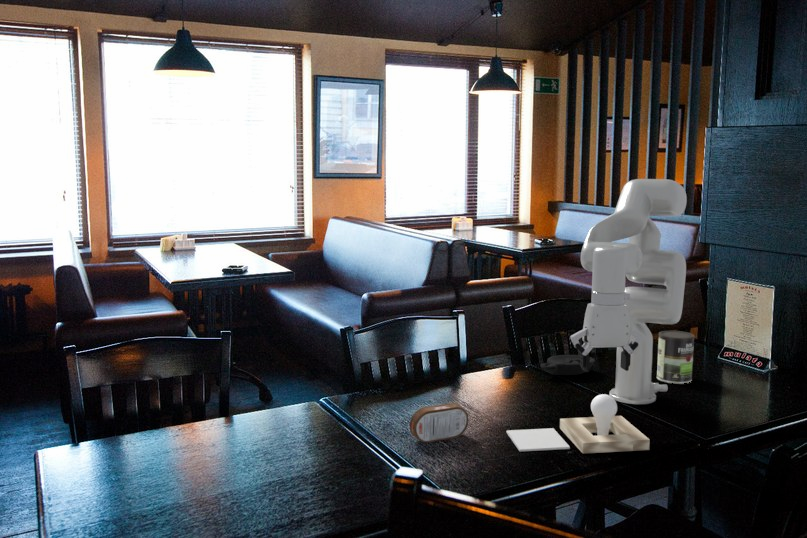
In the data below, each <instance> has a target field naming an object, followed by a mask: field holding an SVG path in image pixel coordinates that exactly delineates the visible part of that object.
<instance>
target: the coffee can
mask: <svg viewBox="0 0 807 538" xmlns="http://www.w3.org/2000/svg"><path fill="white" fill-rule="evenodd" d="M694 345H695V334H693V333H691V332H688V331H682V330H681V331H680V330H662V331H659V332H658V344H657V363H656V364H657V366H656V367H657V370H656V379H657V380H658V381H660V382H664V383H668V384H672V383H673V384H674V385H685V384H684V383H687V384H690V383H692V382H691V381H693V366H694V365H693V364H694V349H695V348H694V347H695V346H694ZM689 382H690V383H689Z"/></svg>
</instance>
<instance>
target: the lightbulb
mask: <svg viewBox="0 0 807 538" xmlns="http://www.w3.org/2000/svg"><path fill="white" fill-rule="evenodd" d="M590 410H591V412H592V415H593V417H595V419H596V426H597V433H596V434H597V436H598V435H609V433H610V432H609V429H610V424H611V421H612V419H613V417H614V416H616V414H617V412H618V403H617V401H616V400H614V399H613V398H612V397H611V396H610V395H609V394H606V393H604V394H603V393H602V394H601V393H600V394H598V395H596V396H595V397H594V398H593V399H592V400H591V403H590Z"/></svg>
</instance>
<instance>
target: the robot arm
mask: <svg viewBox="0 0 807 538" xmlns="http://www.w3.org/2000/svg"><path fill="white" fill-rule="evenodd" d="M687 199H688V198H687V193H686V190H685V188H684V187H683V185H681V184H680V183H679V182H677V181H675V180H673V179H666V178H665V179H664V178H661V179H660V178H635V179H631V180H629V181H627V182H626V183H625V184H624V185H623V187H622V189H621V192H620V195H619V198H618V200H617V203H616V206H615V209H614V212H613V213H612V214H609V215H608V216H606V217H604V218H603V219H601V220H600V221H598V222H597V223H596V224H594V225H593V226H592V227H591V228H590V229H589V230H588V233H587V234H586V236H585V239H584V242H583V243H582V244H583V245H582V248H581V252H580V263H581V266H582V268H583V269H584V270H586V271H587V272H591V273H592V278H591V300H590V301H591V302H590V303H587V306H586V309H585V313H584V317H583V318H584V320H583V326H582V329H581V330H579V331H577V332H575V333H573V334H571V335H570V336H569V338H570V341H571V343H572V345H573V347H574V348H575V349H576V350H577V351H578V353H580V355H581V358H580V366H581V368H582V369H583V370H584V371H585V373H589V372H590V368H591V367H590V357H591V356H590V355H589V353H590V352H591V351H592V350H593V349H594V348H597V349H599V348H616V361H615V365H616V367H615V383H614V385H615V386H614V387H613V388H611V390H609V394H608V395H609V396H611V397H612V398H613V399H614V400H615V401H616V402H620V403H624V404H628V405H649V404H652V403H654V402H656V400H657V395H656V394H657V393H658V392H667V391H668V389H669V388H668V387H669V386H668V384H666V383H665V384H659V382H653V381H652V373H653V371H652V370H653V369H652V368H653V349H654V348H653V347H654V345H653V344H654V338H653V333H652V332H651V330H650V329H649V327H648V326H647V323H650V324H660V325H675V324H677V323H679V322H680V320H681V318H682V315H683V307H684V306H683V305H684V295H685V287H686V286H685V285H686V277H687V275H686V274H687V262H686V258H685V256H684V254H682V253H681V252H678V251H676V250H661V249H660V248H661V247H660V246H661V238H662V234H661V231H660V229H659V228H658V226H657V224H655V222H654V221H653V220H652V219H651V218H650V216H651V217H672V218H673V217H674V218H675V217H680V216H681V215H682V214H683V213H684V212H685V211H686V207H687V203H688V202H687V201H688V200H687ZM627 238H628V243H627V242H616V241H620V240H626V239H627ZM626 278H627V280H629V281H630V282H633V283H637V284H647V285H661V286H665V287H666V288H657V287H644V286H627V287H626ZM581 338H582V341H583V344H582V345H581V344H580V341H579V340H580V339H581ZM589 367H590V368H589Z"/></svg>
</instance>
